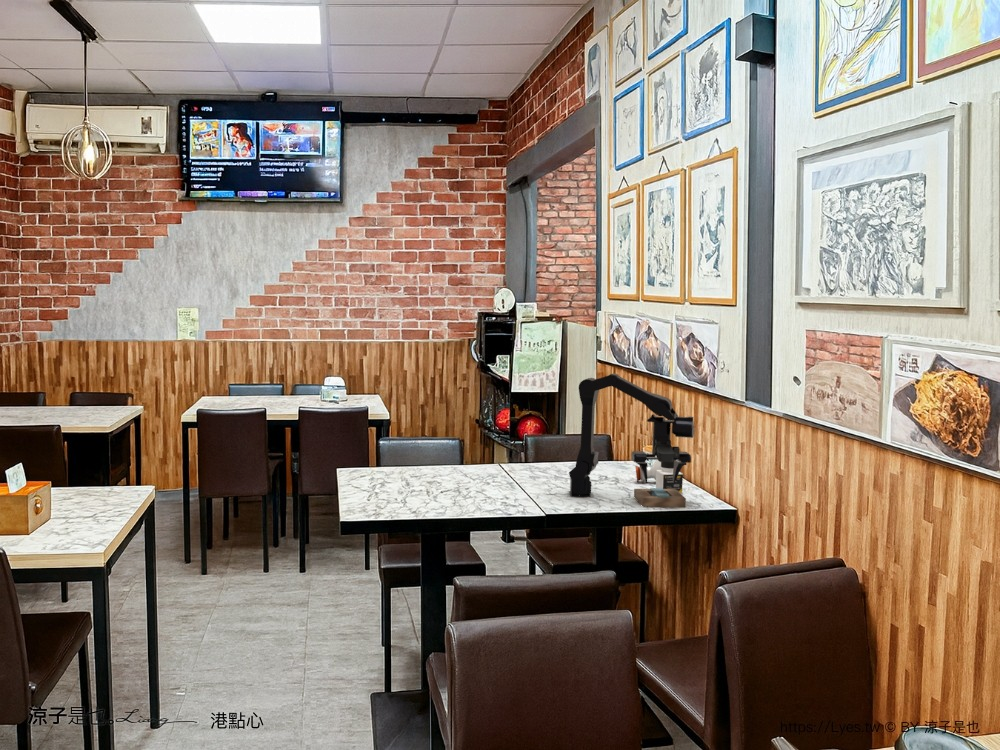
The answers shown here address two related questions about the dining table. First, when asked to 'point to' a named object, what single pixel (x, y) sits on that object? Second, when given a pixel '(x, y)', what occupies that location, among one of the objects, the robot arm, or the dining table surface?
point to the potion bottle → (648, 471)
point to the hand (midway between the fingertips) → (660, 482)
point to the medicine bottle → (668, 477)
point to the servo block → (659, 492)
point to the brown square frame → (660, 498)
